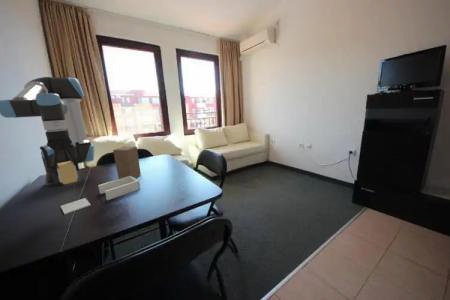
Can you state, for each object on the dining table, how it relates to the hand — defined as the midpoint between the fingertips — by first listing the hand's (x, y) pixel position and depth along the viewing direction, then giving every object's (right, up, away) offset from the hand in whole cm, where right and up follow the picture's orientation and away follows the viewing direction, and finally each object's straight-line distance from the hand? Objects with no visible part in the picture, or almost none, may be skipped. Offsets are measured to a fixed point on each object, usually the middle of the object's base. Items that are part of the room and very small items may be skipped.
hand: (69, 179), depth 88 cm
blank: (0, -1, 0) cm, 1 cm away
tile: (0, -14, +4) cm, 14 cm away
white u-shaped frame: (+14, -9, +18) cm, 25 cm away
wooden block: (+9, -5, +39) cm, 40 cm away
